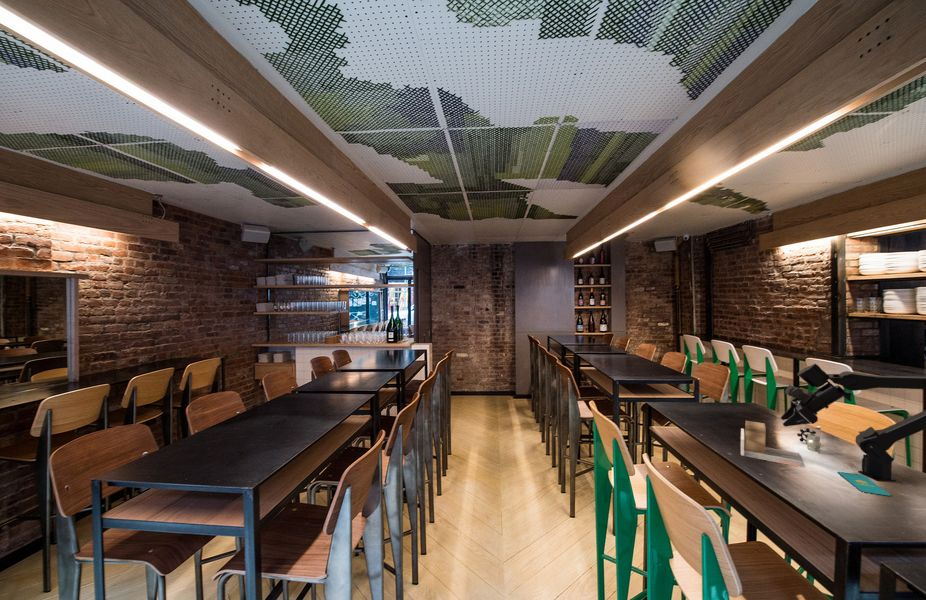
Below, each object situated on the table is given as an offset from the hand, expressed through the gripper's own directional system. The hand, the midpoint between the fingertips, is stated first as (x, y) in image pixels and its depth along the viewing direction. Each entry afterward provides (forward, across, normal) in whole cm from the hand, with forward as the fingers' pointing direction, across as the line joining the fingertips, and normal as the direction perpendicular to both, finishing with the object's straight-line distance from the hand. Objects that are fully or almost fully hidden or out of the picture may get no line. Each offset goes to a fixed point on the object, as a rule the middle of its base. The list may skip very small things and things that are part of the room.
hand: (782, 422), depth 147 cm
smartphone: (-4, +10, +24) cm, 26 cm away
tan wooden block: (+15, 0, +3) cm, 15 cm away
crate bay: (+12, 0, +7) cm, 14 cm away
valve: (+3, -20, +17) cm, 26 cm away
